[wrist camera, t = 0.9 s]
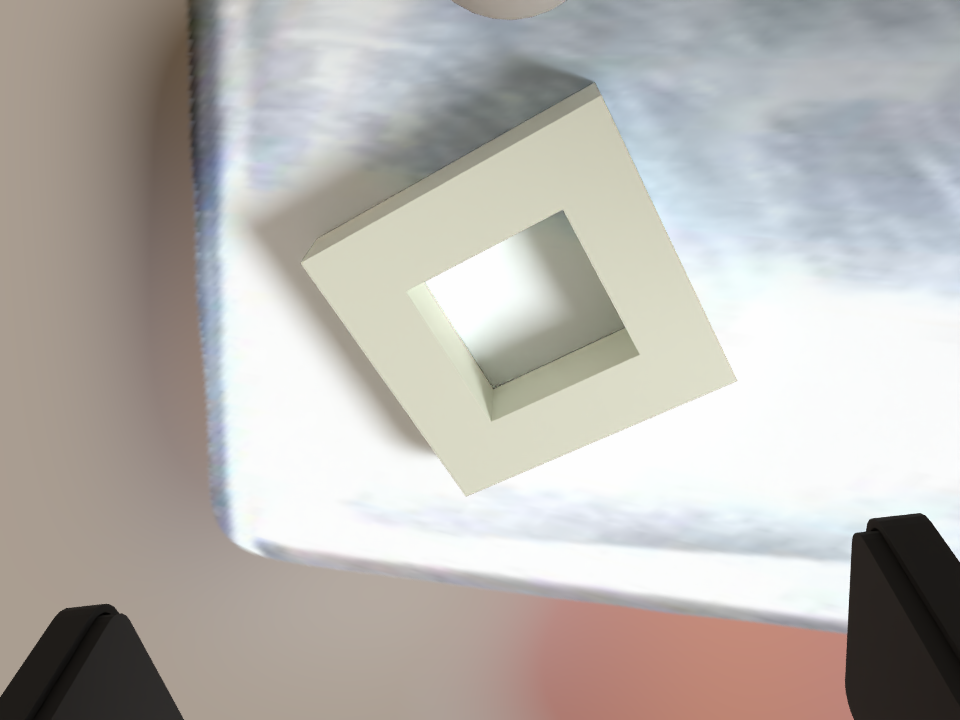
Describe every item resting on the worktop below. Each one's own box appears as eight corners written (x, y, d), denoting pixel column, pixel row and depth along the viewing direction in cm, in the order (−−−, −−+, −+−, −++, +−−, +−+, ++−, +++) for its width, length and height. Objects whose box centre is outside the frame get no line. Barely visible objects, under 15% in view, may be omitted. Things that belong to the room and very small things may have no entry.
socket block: (594, 82, 32) (601, 95, 29) (722, 349, 37) (737, 381, 35) (316, 239, 36) (300, 263, 33) (469, 461, 41) (466, 496, 39)
